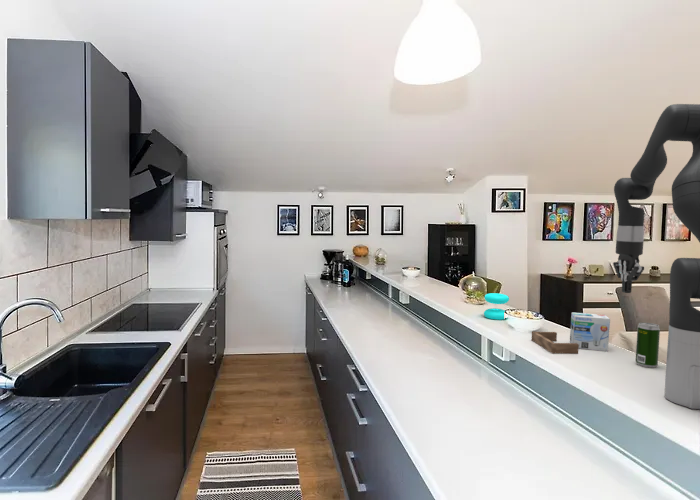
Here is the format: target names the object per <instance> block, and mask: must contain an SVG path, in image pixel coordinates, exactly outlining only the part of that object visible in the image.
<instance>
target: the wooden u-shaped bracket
mask: <svg viewBox="0 0 700 500" xmlns="http://www.w3.org/2000/svg"><path fill="white" fill-rule="evenodd" d="M557 337H558V332H556V331H531V338H530V339H531V341H532V342H533V343H535V344H537V345H538V346H540V347H541V348H542V349H543V348H544V349H545V350H547V351H548V352H550V353H551V354H561V355H562V354H563V355H565V354H573V355H574V354H575V355H578V354H579V349H580V348H579V344H577V343H570V342H557V339H558V338H557Z"/></svg>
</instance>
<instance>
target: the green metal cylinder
mask: <svg viewBox="0 0 700 500" xmlns="http://www.w3.org/2000/svg"><path fill="white" fill-rule="evenodd" d="M636 330H637V331H636V346H635V347H636V348H635V363H636V365H637V366H639V367H644V368H650V369H653V368H657V366H658V363H659V352H660V351H659V350H660V349H659V348H660V338H661V337H660V336H661V329H660V325H659V324H656V323H652V322H638V325H637V329H636Z"/></svg>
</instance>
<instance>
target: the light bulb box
mask: <svg viewBox="0 0 700 500" xmlns="http://www.w3.org/2000/svg"><path fill="white" fill-rule="evenodd" d="M610 326H611V318H610V317H608V316H607V315H606V314H600V313H599V314H597V313H584V312H571V317H570V331H569V343H577V344H579V348H578V349H579V350H580V349H581V350H591V351H600V352H608V351H609V340H610V339H609V338H610V328H611V327H610Z"/></svg>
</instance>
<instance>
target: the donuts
mask: <svg viewBox="0 0 700 500" xmlns="http://www.w3.org/2000/svg"><path fill="white" fill-rule="evenodd" d="M484 300H485V301H486V302H487V303H488V304H494V305H505V304H506V303H508V302H509V301H510V297H509V296H508V295H507V294H505V293H495V292H494V293H493V292H492V293H491V292H490V293H486V294H485V295H484ZM505 311H506V310H505V309H502V308H487V309H486V310H485V311H483V317H485V318H486V319H489V320H497V321H498V320H499V321H503V320H505V319H504V312H505Z"/></svg>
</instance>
